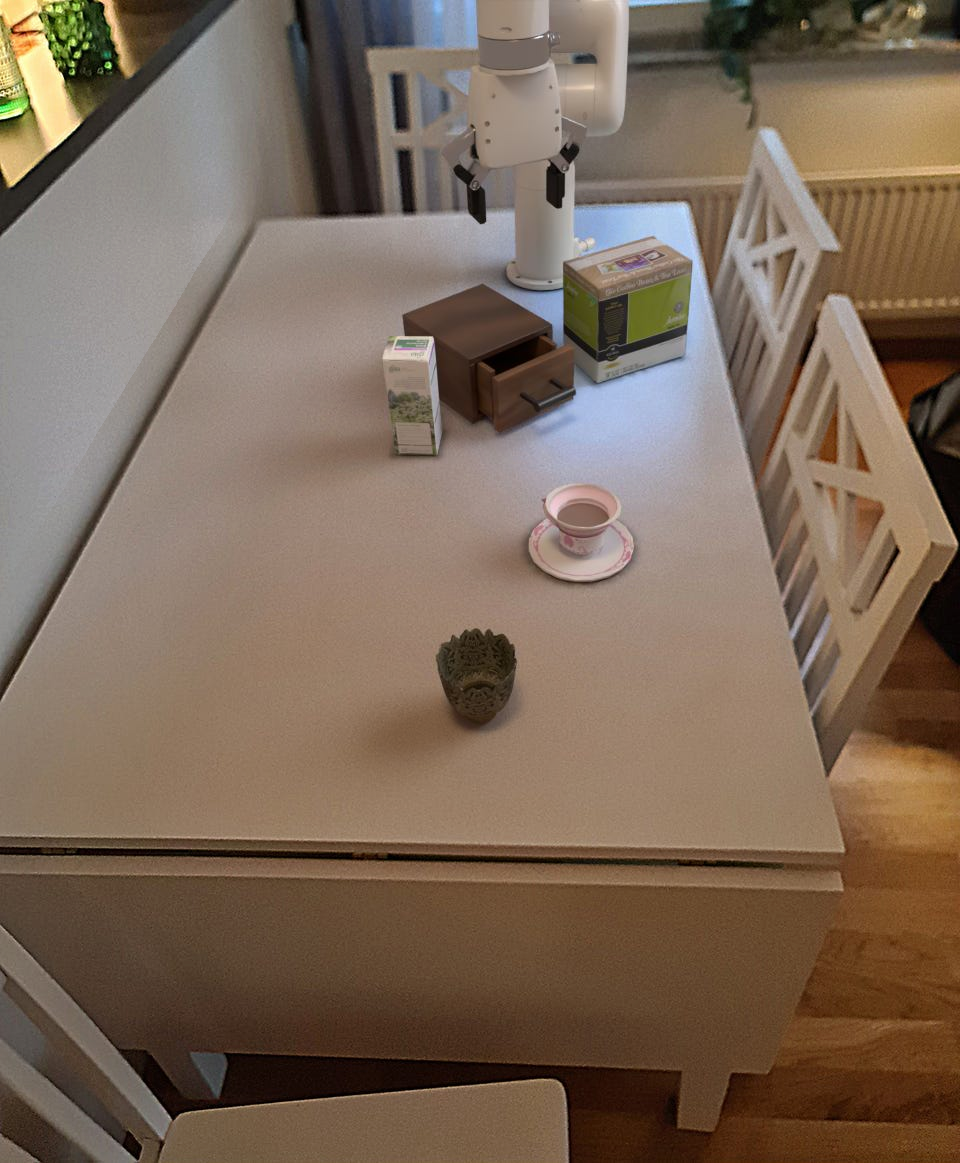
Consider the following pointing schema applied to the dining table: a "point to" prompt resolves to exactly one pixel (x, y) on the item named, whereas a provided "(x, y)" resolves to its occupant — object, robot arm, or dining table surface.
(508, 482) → the dining table surface
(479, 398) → the drawer
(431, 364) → the syrup box
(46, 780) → the dining table surface
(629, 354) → the tea box
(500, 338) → the cabinet
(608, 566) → the teacup
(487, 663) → the cup
